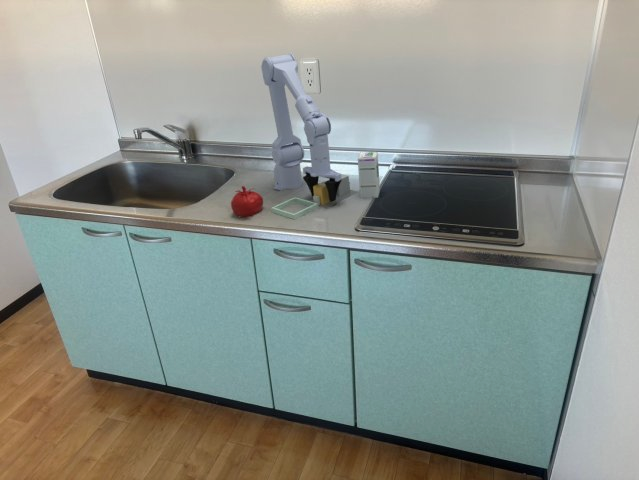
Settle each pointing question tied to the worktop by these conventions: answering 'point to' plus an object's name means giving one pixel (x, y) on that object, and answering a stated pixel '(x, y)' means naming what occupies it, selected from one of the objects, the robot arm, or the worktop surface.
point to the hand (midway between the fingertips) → (323, 198)
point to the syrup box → (368, 175)
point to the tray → (294, 216)
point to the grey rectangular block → (343, 185)
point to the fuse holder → (338, 199)
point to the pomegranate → (246, 203)
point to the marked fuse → (321, 193)
